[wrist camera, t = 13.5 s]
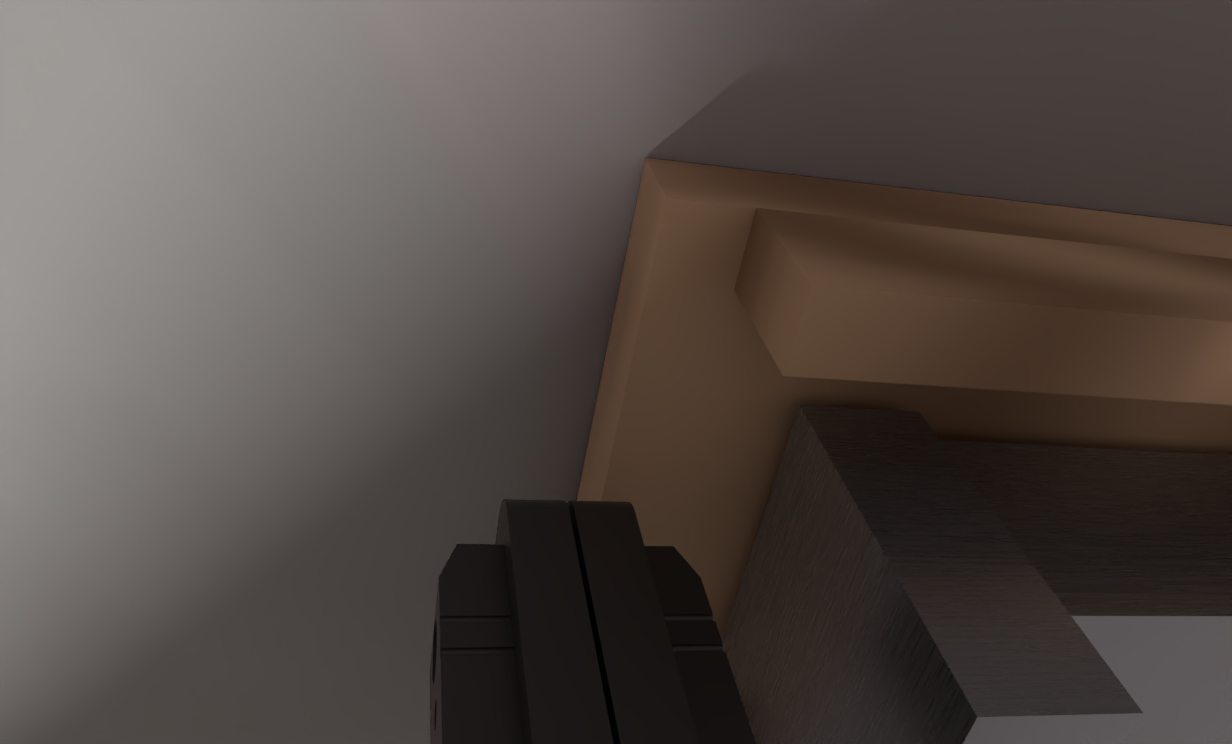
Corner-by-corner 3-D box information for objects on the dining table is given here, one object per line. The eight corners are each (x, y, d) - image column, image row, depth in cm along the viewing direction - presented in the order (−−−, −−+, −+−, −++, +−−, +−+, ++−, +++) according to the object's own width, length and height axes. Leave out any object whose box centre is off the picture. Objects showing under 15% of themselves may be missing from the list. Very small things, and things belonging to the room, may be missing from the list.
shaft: (716, 659, 14) (822, 995, 10) (799, 405, 12) (977, 717, 8) (1203, 654, 16) (1443, 935, 12) (1355, 437, 14) (1708, 699, 10)
